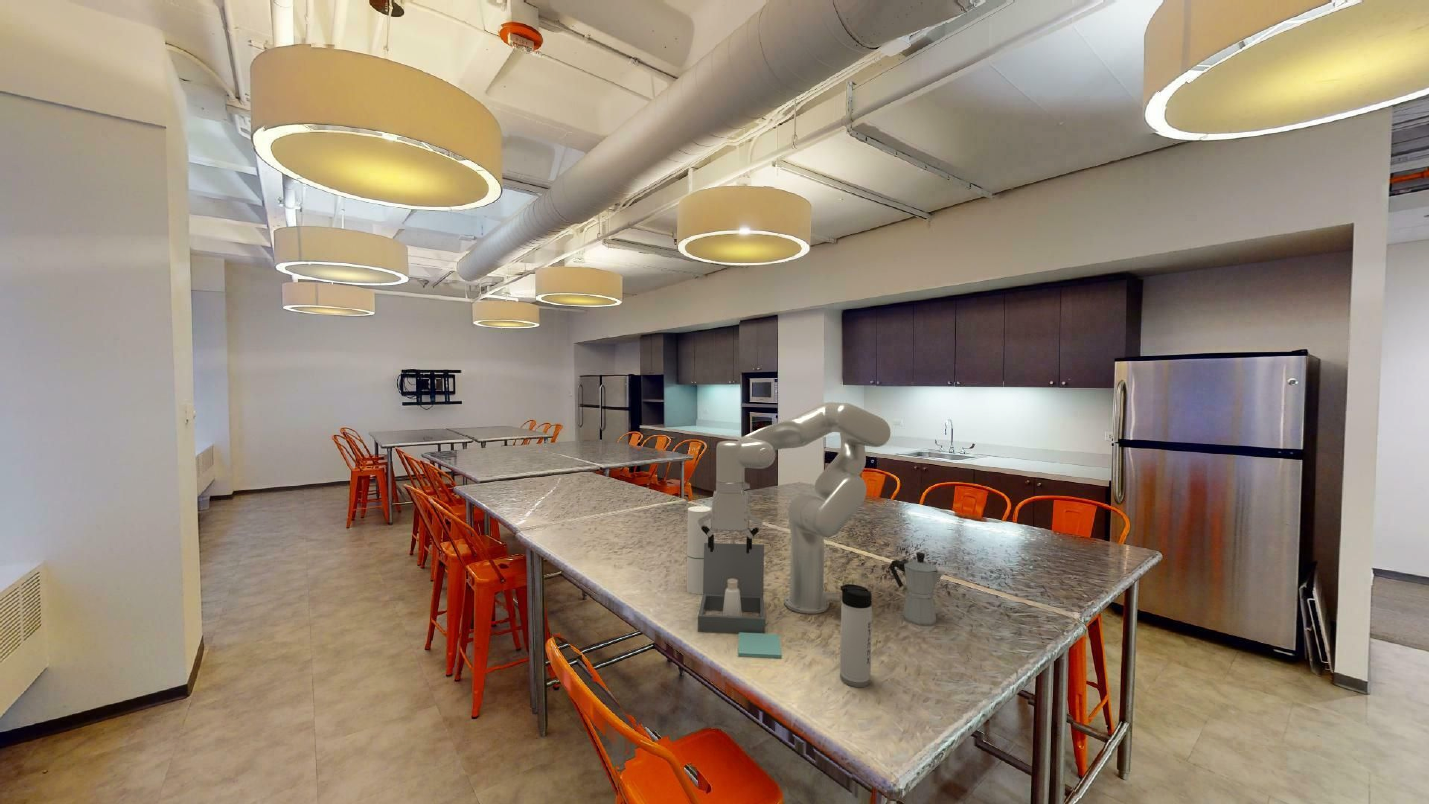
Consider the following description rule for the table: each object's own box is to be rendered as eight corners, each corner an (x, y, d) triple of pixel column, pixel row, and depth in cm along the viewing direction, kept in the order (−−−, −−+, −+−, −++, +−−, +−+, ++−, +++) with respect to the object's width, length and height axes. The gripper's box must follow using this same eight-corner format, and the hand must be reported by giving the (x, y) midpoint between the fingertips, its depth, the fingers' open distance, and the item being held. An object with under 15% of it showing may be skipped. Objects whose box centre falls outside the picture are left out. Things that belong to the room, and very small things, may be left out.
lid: (763, 596, 142) (763, 595, 143) (763, 544, 144) (763, 544, 145) (702, 594, 143) (703, 592, 144) (704, 542, 145) (704, 542, 146)
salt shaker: (717, 620, 135) (718, 579, 135) (731, 614, 139) (732, 574, 139) (732, 627, 132) (733, 585, 131) (746, 621, 135) (747, 580, 135)
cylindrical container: (711, 585, 159) (712, 506, 159) (708, 594, 152) (709, 512, 152) (688, 584, 160) (689, 505, 159) (685, 593, 153) (686, 511, 152)
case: (763, 610, 142) (763, 596, 142) (764, 634, 128) (765, 619, 128) (702, 608, 143) (702, 594, 143) (697, 631, 129) (697, 616, 129)
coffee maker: (948, 620, 137) (950, 554, 137) (937, 631, 131) (939, 562, 130) (895, 604, 147) (896, 542, 147) (881, 613, 141) (883, 549, 140)
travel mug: (834, 671, 111) (836, 581, 111) (863, 670, 112) (865, 581, 112) (844, 688, 105) (846, 593, 105) (875, 687, 106) (877, 592, 105)
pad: (779, 637, 127) (779, 634, 127) (781, 658, 117) (781, 655, 117) (738, 635, 127) (739, 632, 127) (738, 656, 117) (738, 653, 117)
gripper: (763, 485, 138) (762, 548, 138) (700, 484, 140) (699, 545, 140) (762, 491, 130) (762, 557, 131) (696, 489, 132) (695, 554, 133)
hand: (729, 551), depth 136 cm, fingers open, 9 cm apart
